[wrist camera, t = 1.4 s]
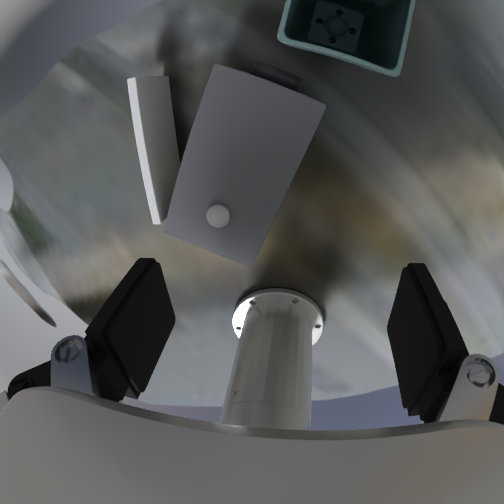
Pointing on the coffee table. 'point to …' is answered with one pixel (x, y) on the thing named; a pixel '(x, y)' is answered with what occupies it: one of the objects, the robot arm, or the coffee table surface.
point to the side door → (155, 140)
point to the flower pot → (338, 27)
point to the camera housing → (241, 159)
